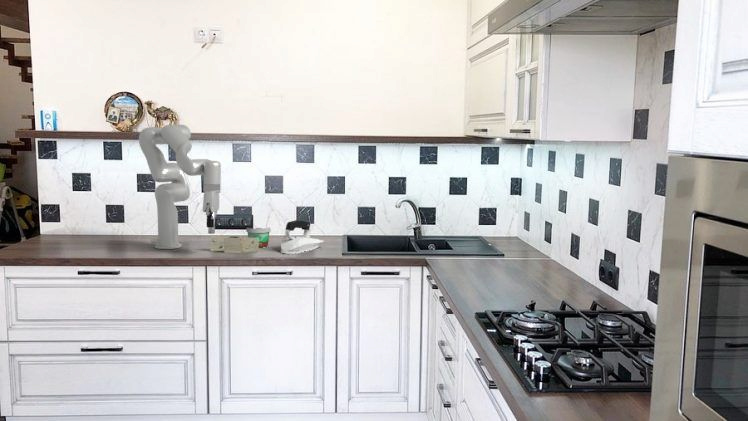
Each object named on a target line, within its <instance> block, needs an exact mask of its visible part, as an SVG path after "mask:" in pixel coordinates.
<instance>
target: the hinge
mask: <svg viewBox="0 0 748 421" xmlns="http://www.w3.org/2000/svg"><path fill="white" fill-rule="evenodd" d="M259 249H260V248H259V238H250V237H248V236H246V237H245V236H244V235H227V236H220V235H219V236H215V235H214V236H213V235H210V236H209V251H210V252H224V253H225V254H241V253H257V252H258V253H259Z"/></svg>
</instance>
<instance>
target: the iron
mask: <svg viewBox="0 0 748 421" xmlns="http://www.w3.org/2000/svg"><path fill="white" fill-rule="evenodd" d="M296 228H297V229H301V230H302V231H303V230H304V231H303V235H302V236H297V235H296V236H295V235H291V232H293V231H295V229H296ZM313 229H314V228H313V227H311V222H308V221H305V220H297V219H296V220H292V221H288V222H287V223H286V226H285V237H284V238H282V240H281V244H280V253H281V254H286V255H287V254H288V255H289V254H291V255H292V254H293V255H296V254H301V252H302V253H305V252H304V251H306V252H310V251H313V250H316V249H317V248H319V245H320V244H322V243H324V242H325V240H323V239H320V238H314V237H311V236H310V235H311V232H312V230H313ZM309 250H310V251H309ZM295 253H296V254H295Z"/></svg>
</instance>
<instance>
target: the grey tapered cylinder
mask: <svg viewBox="0 0 748 421" xmlns="http://www.w3.org/2000/svg"><path fill="white" fill-rule="evenodd" d="M210 212H211V211H210ZM213 219H214V227H213V228H211V227H207V230H208V231H207V234H211V235H212V234H213V235H214V234H215V232H216V230H215V229H216V226H215V212H213Z"/></svg>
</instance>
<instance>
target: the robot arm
mask: <svg viewBox="0 0 748 421" xmlns="http://www.w3.org/2000/svg"><path fill="white" fill-rule="evenodd" d="M191 137H192V134H191V129H190V128H189V127H188V126H187V125H186V124H185V125H184V124H165V125H164V126H162V127H161V126H160V127H159V126H150V127H144V128H143V129H142V130H141V131H140V133H139V135H138V142H139V143H138V144H139V147H140V150H141V151H142V153H143V155H144V157H145V159H146V163H147V165H148V169H149V172H150V174H151V177H152V179H153V181H154V182H157V183H162V184H159V185H158V186H156V187H155V189H154V198H155V202H156V209H157V211H156V213H157V238H150V243H151V244H153V243H154V247H155V248H156V249H159V250H172V249H173V250H174V249H179V248H182V245H183V244H182V243H180V242H179V213H178V208H177V207H176V205H175V203H178V202H179V203H180V202H184V201H187V200H188V199H189V198H190V195H191V190H190V186H189V184H188V181H187V178H186V175H187V176H190V177H195V176H203V192H204V193H203V200H202V201H203V202H202V212H203V213H205V215H206V228H208V227H211V228H213V227H214V219H213V212H215V227H217V215H218V214H217V212H218V211H219V210H220V192H221V181H222V180H221V177H222V176H221V174H222V173H221V172H222V168H221V166H222V165H221V162H220V161H217V160H210V159H207V158H200V159H199V158H196V159H192V158H190V157H189V156H188V155H187V154H189V153H190V151H191V149H192V148H193V145H192V142H191V141H190V139H191ZM157 145H168V146H169V147H170V148H171V149H172V150H173V151H174V153H175V161H176V162H168V161H166V158H165V155H164V153H163V151H162V150H161V149H160V148H159V147H158V146H157ZM169 182H170V183H169ZM210 211H211V212H210Z"/></svg>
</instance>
